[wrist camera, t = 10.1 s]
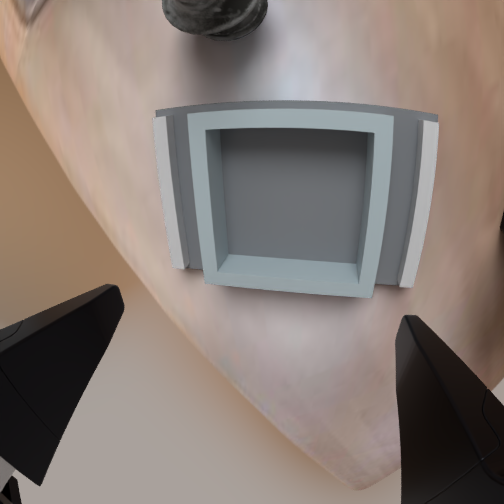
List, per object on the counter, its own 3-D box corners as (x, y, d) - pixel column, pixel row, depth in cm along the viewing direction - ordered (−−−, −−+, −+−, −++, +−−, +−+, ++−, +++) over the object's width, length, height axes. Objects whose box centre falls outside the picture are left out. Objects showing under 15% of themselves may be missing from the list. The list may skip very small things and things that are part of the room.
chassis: (431, 113, 15) (453, 117, 12) (408, 277, 21) (419, 306, 17) (164, 109, 19) (135, 113, 16) (181, 259, 25) (161, 283, 21)
